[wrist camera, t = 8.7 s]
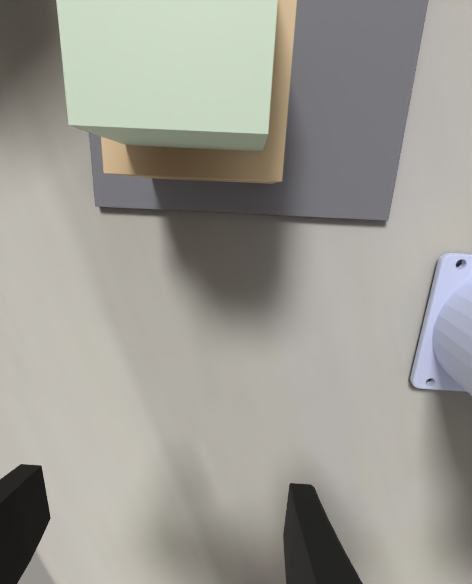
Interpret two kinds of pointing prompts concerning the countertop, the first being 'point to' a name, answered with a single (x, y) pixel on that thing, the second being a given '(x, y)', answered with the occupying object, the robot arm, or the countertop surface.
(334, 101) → the mat
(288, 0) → the oak slab upper
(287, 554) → the robot arm
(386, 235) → the countertop surface
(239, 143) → the sage block
